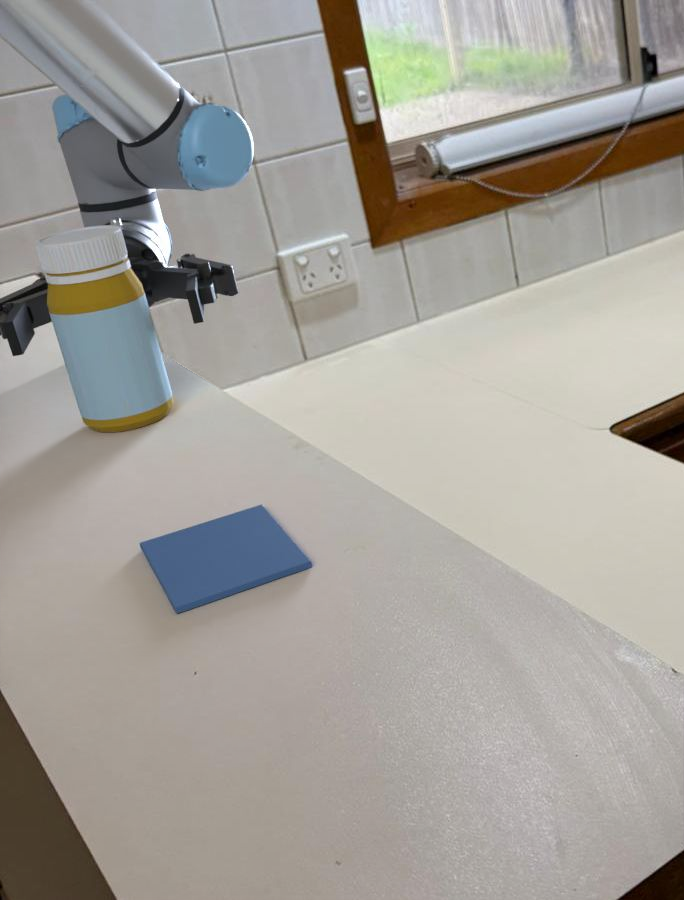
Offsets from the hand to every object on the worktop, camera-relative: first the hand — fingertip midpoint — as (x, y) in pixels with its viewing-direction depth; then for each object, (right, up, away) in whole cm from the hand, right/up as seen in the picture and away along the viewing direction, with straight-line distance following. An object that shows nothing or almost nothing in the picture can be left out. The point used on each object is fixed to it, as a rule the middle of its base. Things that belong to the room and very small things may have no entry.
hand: (105, 322), depth 90 cm
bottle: (+1, -8, +3) cm, 8 cm away
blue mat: (+17, -16, -23) cm, 33 cm away
